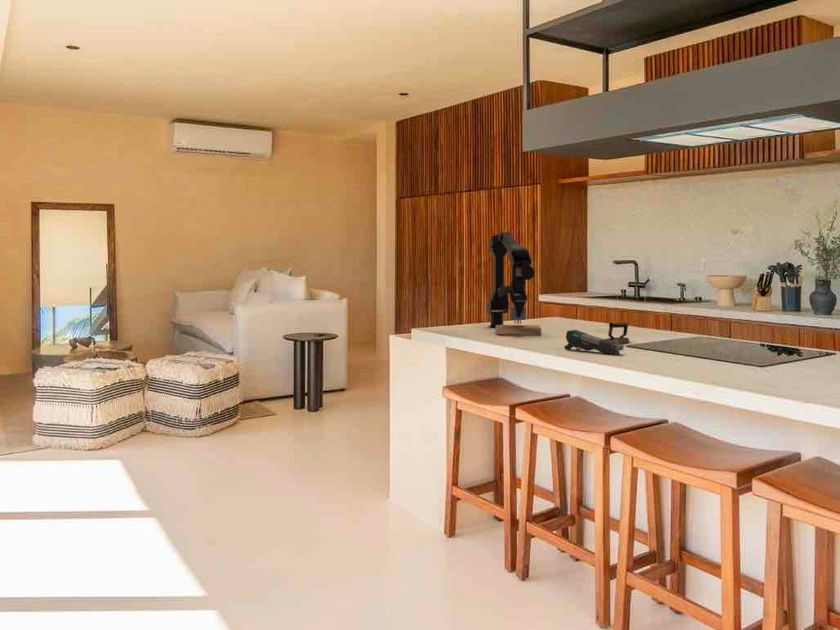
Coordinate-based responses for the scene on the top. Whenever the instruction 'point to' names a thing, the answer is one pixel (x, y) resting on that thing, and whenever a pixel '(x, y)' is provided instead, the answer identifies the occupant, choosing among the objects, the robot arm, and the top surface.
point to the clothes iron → (621, 339)
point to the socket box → (518, 330)
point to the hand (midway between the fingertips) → (517, 316)
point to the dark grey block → (514, 316)
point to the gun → (591, 343)
